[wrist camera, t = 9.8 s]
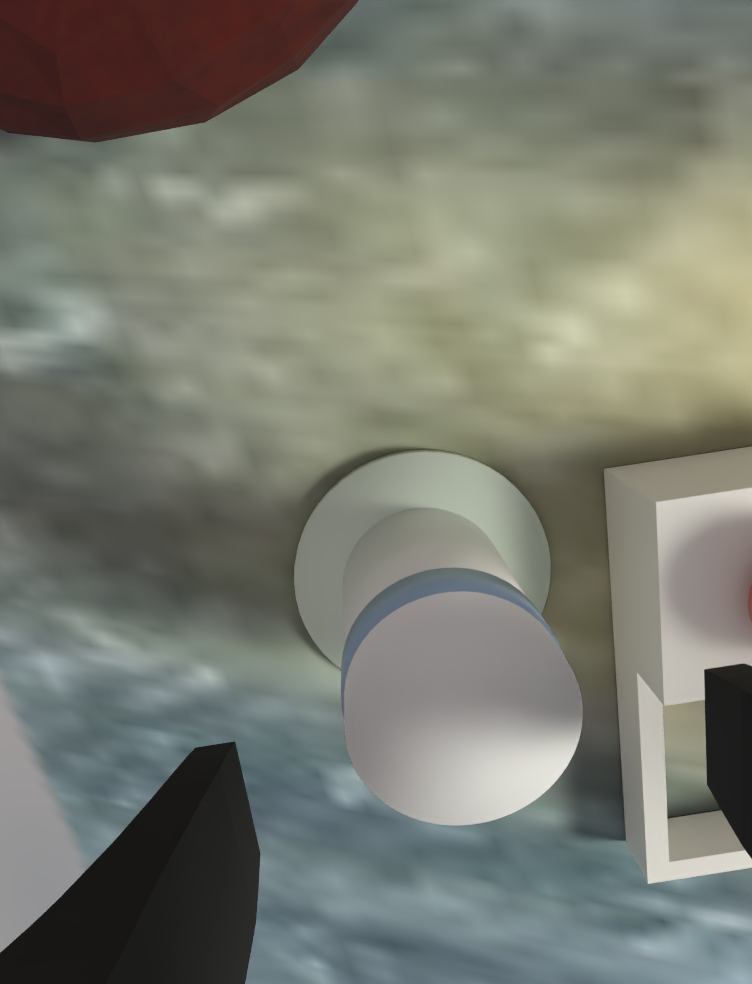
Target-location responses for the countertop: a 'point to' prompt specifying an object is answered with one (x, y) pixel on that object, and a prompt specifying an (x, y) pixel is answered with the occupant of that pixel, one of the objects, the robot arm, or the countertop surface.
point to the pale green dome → (402, 488)
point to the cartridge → (450, 674)
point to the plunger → (750, 603)
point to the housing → (676, 634)
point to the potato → (146, 60)
